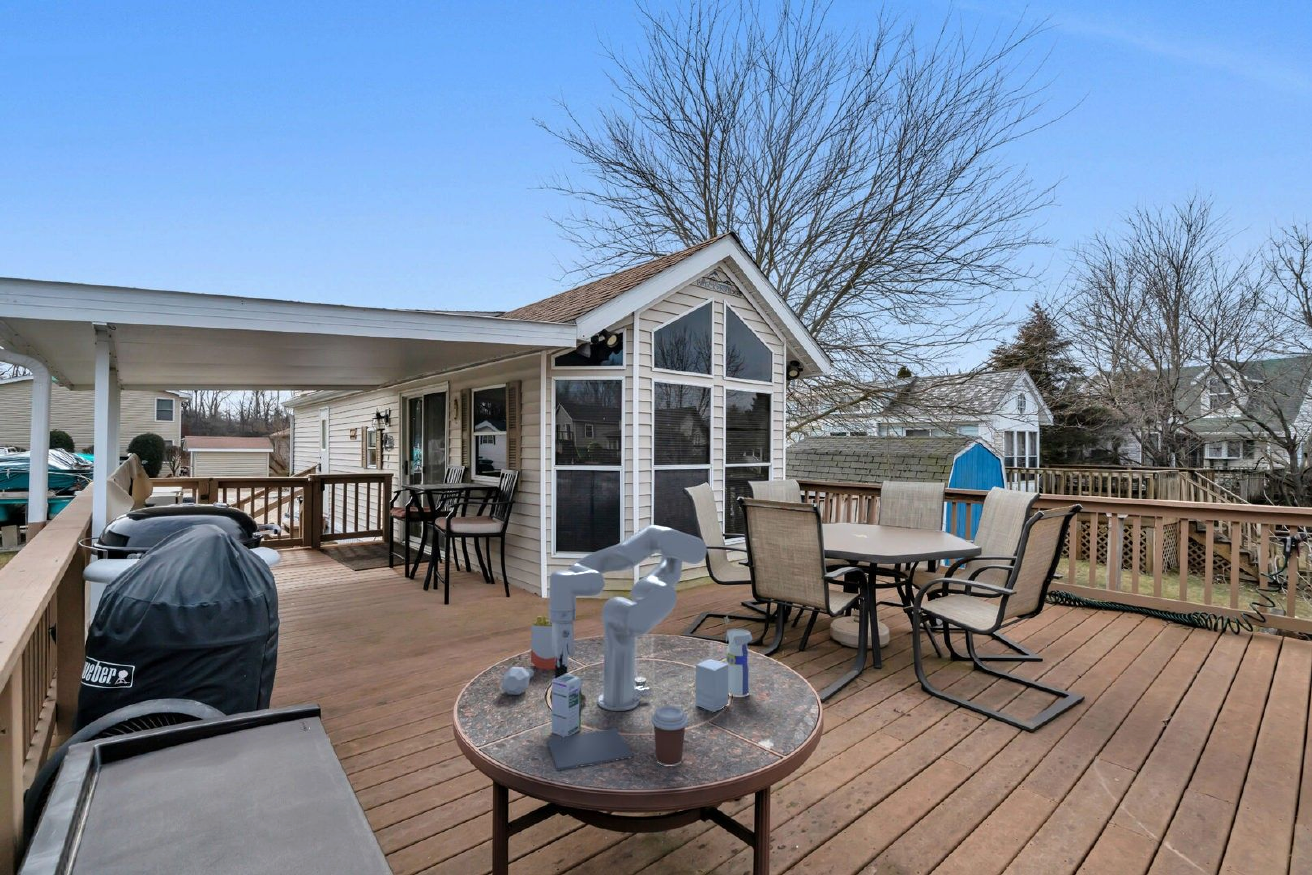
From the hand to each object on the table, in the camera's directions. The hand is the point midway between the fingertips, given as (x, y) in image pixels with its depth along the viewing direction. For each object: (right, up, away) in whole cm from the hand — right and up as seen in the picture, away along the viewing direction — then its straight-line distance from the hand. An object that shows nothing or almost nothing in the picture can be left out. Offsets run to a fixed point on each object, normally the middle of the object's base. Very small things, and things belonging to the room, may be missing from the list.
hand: (560, 679), depth 170 cm
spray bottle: (+53, -13, +20) cm, 58 cm away
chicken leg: (-16, -12, +21) cm, 29 cm away
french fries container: (-11, -12, +40) cm, 43 cm away
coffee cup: (+30, -12, -22) cm, 39 cm away
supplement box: (+44, -12, +10) cm, 47 cm away
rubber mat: (+10, -11, -17) cm, 23 cm away
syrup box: (+3, -11, -7) cm, 14 cm away
